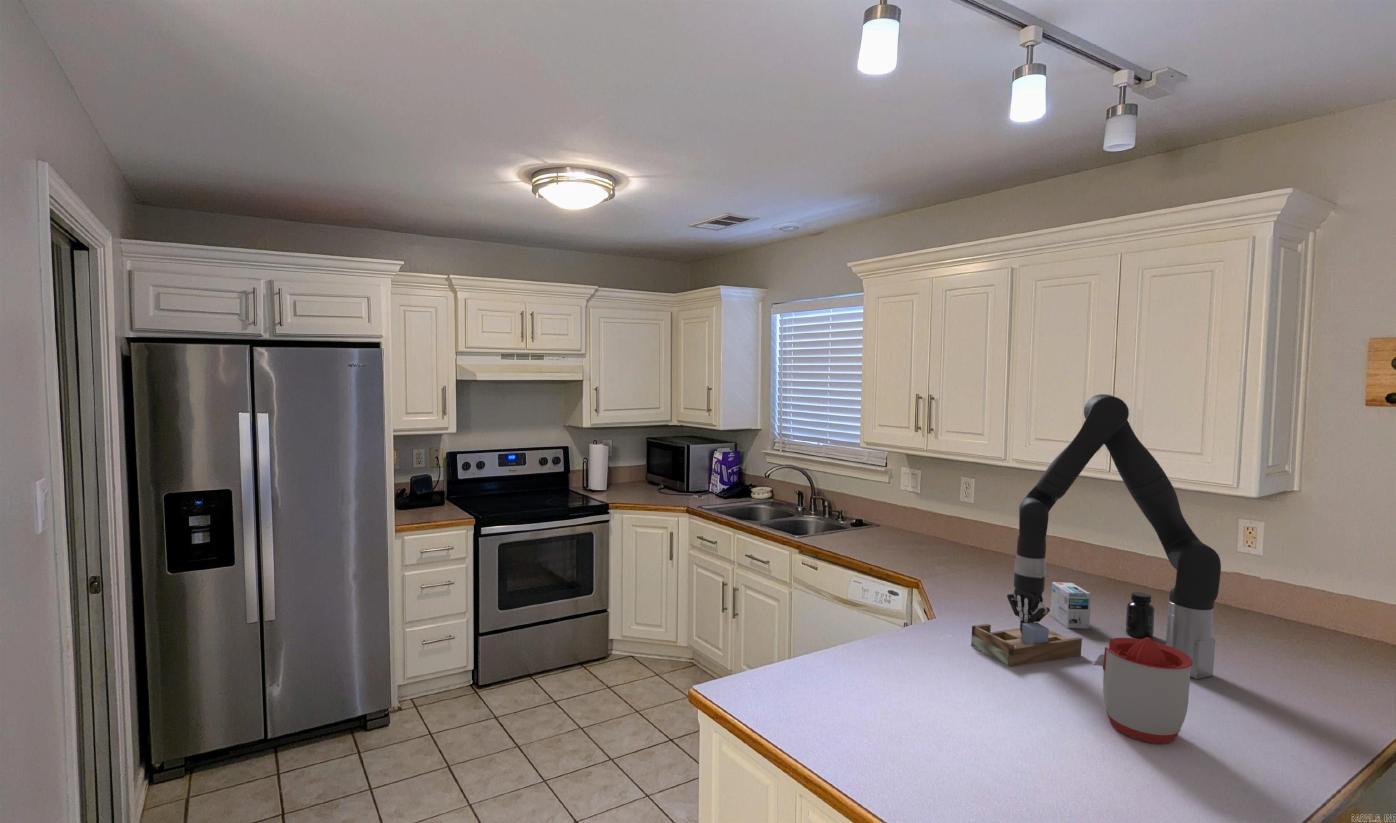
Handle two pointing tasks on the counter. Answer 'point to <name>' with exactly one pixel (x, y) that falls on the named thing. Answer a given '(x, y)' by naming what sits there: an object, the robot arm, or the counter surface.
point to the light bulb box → (1070, 605)
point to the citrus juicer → (1145, 688)
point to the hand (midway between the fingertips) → (1025, 634)
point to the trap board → (1022, 646)
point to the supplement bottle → (1140, 616)
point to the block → (1034, 633)
